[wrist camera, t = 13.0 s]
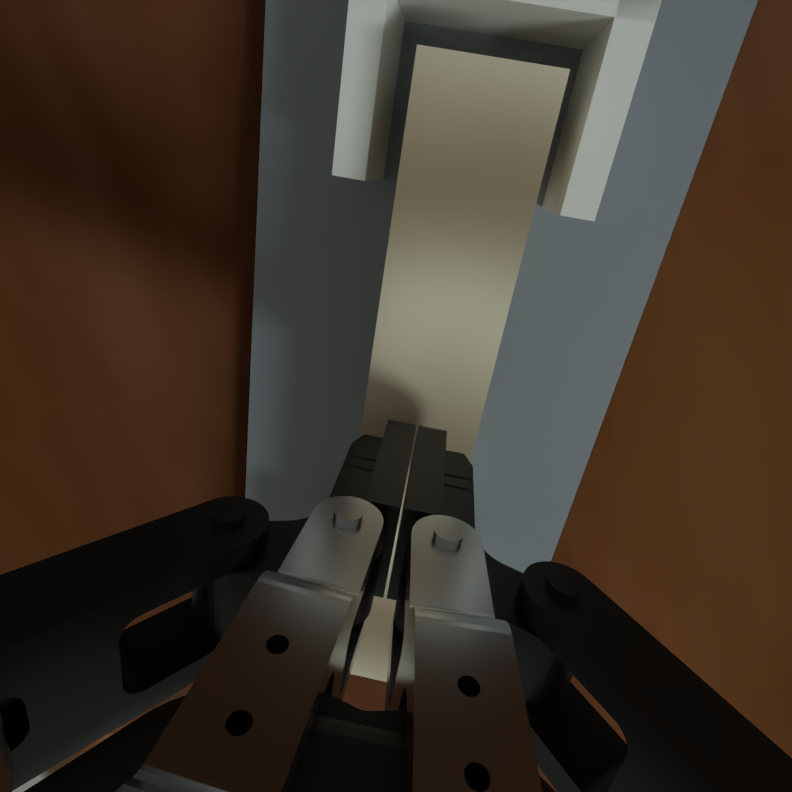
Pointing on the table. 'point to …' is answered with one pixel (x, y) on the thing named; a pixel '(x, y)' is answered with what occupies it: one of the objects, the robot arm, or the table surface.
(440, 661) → the robot arm
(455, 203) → the slat
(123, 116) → the table surface
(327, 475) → the cap board
